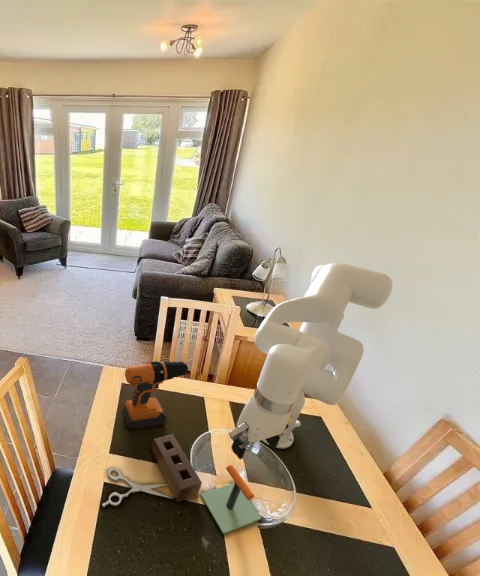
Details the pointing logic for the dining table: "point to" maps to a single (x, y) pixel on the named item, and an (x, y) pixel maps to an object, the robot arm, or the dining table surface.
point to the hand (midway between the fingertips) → (253, 448)
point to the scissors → (134, 489)
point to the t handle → (237, 488)
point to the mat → (225, 517)
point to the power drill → (149, 391)
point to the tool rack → (176, 468)
